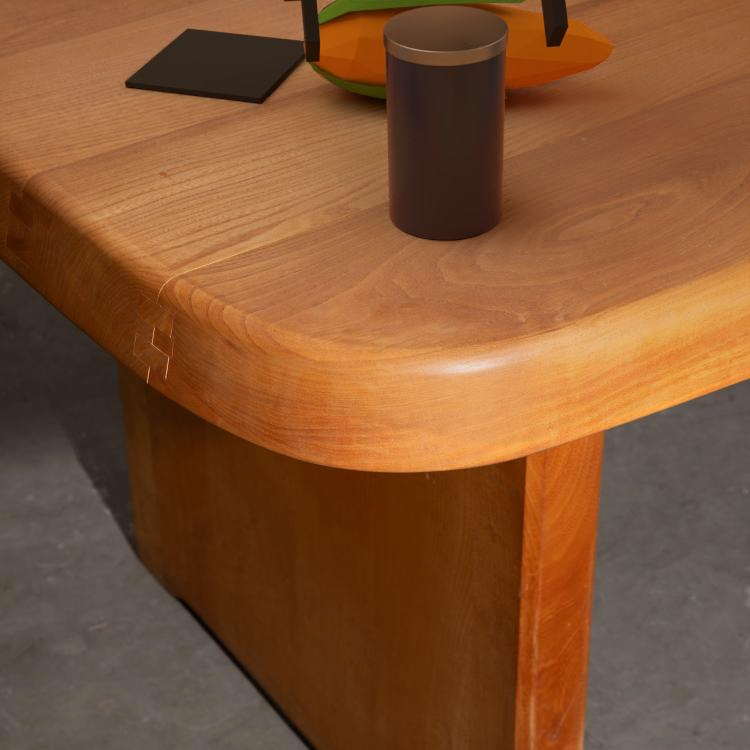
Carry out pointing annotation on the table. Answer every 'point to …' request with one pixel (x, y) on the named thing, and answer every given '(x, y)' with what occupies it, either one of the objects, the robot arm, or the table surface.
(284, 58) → the coaster
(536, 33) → the corn
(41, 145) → the table surface
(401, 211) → the tin
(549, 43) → the robot arm
